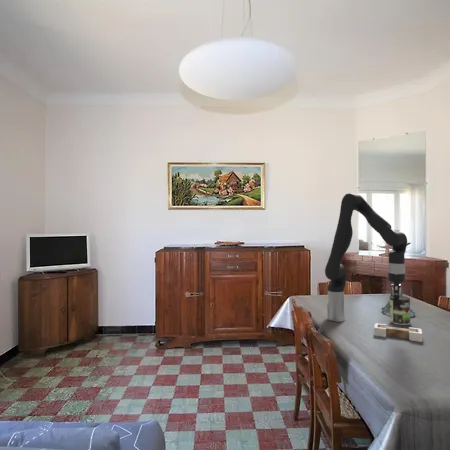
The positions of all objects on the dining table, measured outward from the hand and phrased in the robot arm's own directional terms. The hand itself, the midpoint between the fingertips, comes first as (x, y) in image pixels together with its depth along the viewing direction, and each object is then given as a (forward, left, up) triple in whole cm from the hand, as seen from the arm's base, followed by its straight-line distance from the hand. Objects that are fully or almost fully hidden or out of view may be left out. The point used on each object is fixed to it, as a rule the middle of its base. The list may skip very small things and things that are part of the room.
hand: (396, 304), depth 159 cm
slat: (0, 0, -16) cm, 16 cm away
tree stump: (0, +44, -16) cm, 47 cm away
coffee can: (+1, +25, -16) cm, 30 cm away
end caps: (0, 0, -16) cm, 16 cm away
